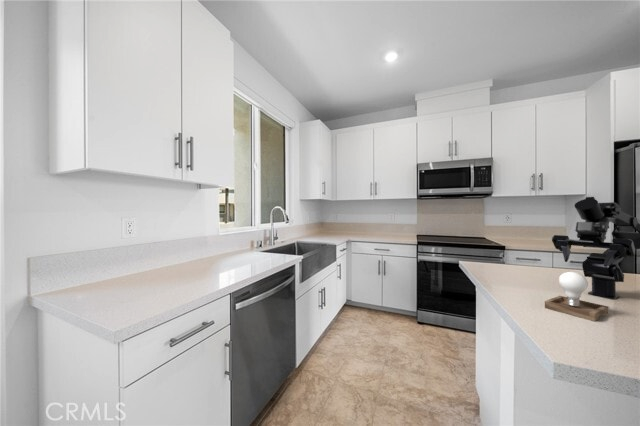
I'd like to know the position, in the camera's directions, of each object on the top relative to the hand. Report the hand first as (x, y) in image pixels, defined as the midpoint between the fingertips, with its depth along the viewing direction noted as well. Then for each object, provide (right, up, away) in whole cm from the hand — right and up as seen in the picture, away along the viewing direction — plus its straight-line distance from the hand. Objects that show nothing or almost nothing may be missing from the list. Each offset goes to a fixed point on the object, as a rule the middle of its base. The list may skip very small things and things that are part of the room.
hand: (584, 263), depth 81 cm
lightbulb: (-9, -13, -5) cm, 16 cm away
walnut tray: (-9, -14, -6) cm, 17 cm away
